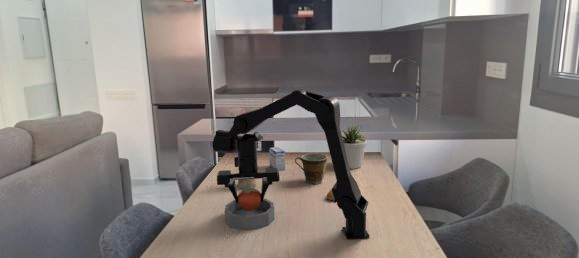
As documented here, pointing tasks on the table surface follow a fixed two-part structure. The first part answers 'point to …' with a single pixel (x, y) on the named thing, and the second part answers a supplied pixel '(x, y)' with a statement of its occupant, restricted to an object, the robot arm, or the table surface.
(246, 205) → the tomato
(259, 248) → the table surface
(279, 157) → the medicine box
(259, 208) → the bowl
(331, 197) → the pastry
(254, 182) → the figurine
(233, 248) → the table surface
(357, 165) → the potted plant
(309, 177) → the ceramic cup
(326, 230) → the table surface
